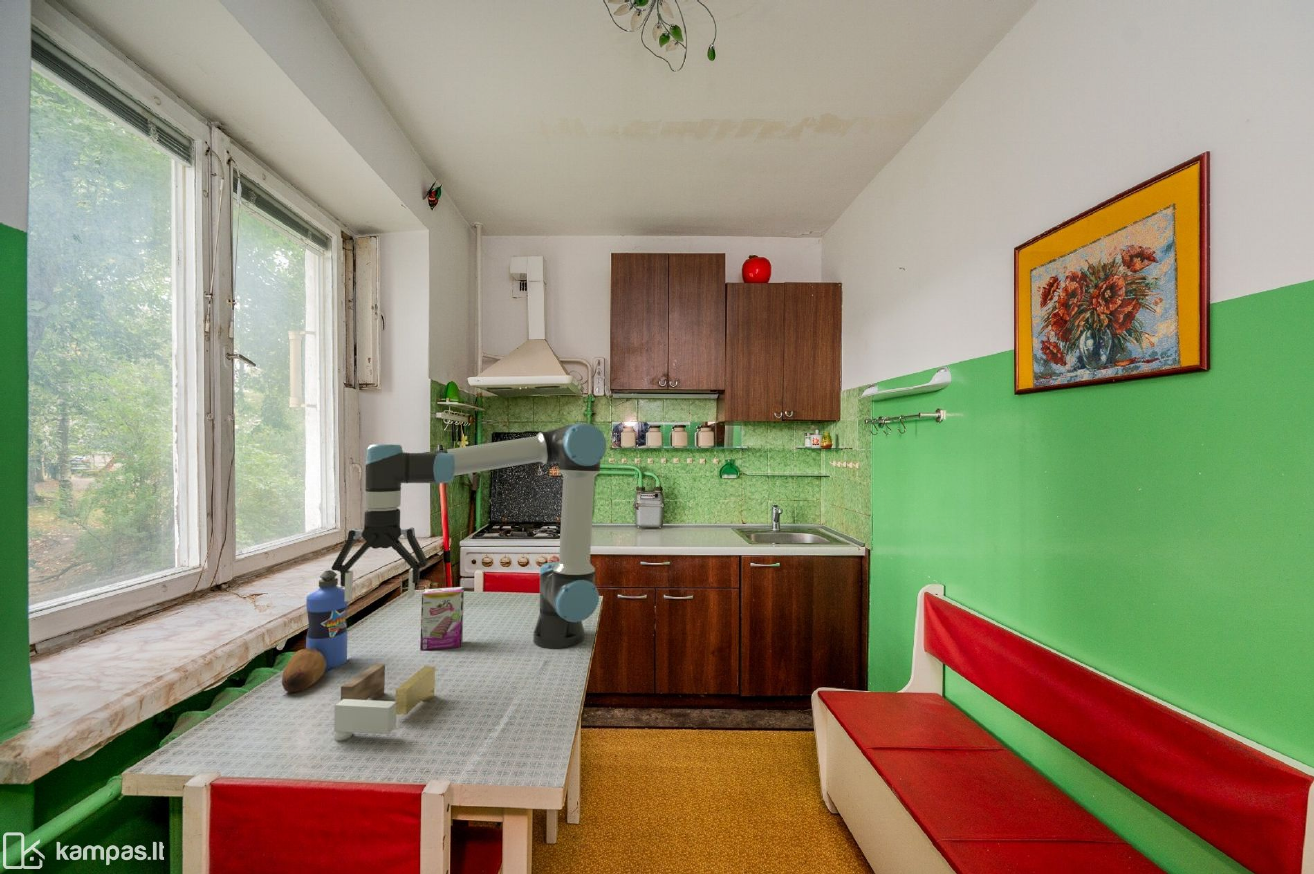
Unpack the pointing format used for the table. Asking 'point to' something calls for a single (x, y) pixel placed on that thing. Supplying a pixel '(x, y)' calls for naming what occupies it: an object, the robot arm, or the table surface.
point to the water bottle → (328, 621)
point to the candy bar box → (442, 618)
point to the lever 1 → (365, 684)
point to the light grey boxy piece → (363, 717)
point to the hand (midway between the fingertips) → (380, 598)
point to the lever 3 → (415, 690)
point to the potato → (303, 670)
